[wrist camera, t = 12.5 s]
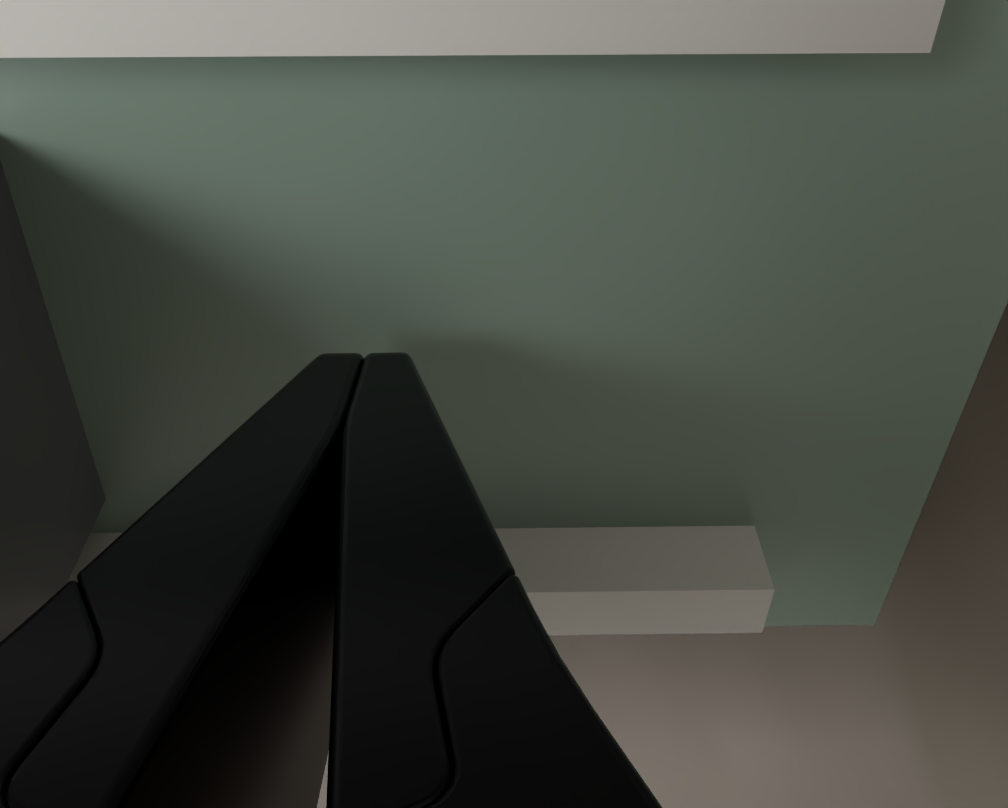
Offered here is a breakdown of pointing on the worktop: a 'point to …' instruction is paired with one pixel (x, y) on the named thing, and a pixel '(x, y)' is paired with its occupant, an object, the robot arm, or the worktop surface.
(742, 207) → the header board
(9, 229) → the dark grey cube
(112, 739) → the robot arm
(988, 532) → the worktop surface
